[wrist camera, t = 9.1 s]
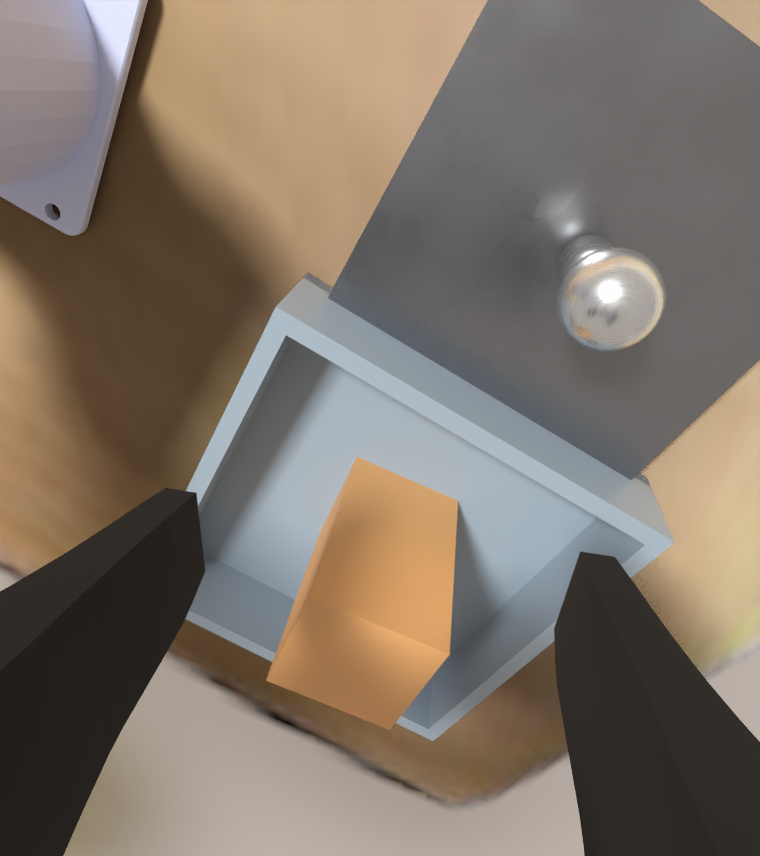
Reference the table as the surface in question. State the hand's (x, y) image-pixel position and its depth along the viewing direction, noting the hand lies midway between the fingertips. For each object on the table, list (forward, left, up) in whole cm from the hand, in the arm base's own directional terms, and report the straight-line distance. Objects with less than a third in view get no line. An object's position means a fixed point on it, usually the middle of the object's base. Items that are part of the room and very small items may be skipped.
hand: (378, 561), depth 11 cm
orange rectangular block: (+2, -7, -10) cm, 12 cm away
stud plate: (+2, +5, -10) cm, 12 cm away
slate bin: (+2, -7, -10) cm, 13 cm away
